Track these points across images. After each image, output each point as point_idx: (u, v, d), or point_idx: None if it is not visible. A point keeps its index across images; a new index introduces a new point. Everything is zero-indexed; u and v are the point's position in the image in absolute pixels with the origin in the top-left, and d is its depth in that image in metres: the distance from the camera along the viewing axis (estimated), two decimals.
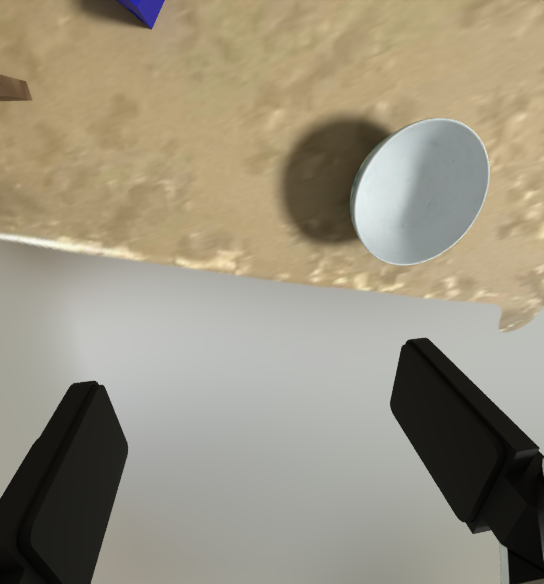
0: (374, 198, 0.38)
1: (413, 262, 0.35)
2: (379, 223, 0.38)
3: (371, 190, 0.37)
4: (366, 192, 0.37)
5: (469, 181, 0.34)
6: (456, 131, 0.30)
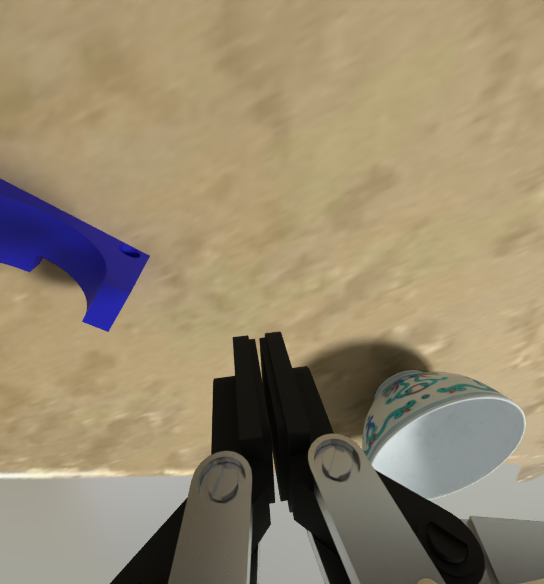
0: None
1: (433, 496, 0.31)
2: None
3: None
4: None
5: (499, 417, 0.30)
6: None
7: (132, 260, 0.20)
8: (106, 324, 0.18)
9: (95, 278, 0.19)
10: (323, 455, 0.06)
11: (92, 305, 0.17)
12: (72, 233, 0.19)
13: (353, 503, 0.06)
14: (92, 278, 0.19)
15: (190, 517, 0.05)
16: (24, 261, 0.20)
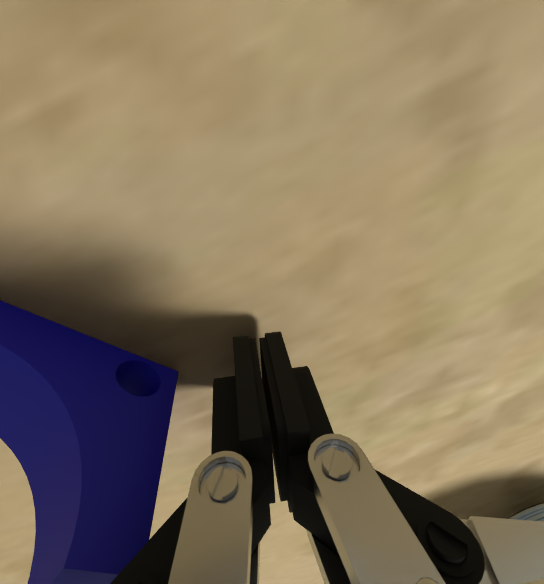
0: None
1: None
2: None
3: None
4: None
5: None
6: None
7: (145, 407, 0.09)
8: None
9: (56, 477, 0.08)
10: (323, 455, 0.06)
11: None
12: (6, 361, 0.08)
13: (353, 503, 0.06)
14: (51, 473, 0.08)
15: (190, 517, 0.05)
16: None
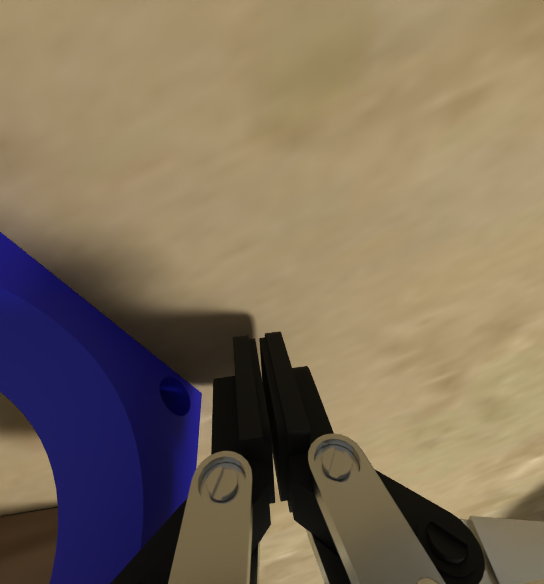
0: None
1: None
2: None
3: None
4: None
5: None
6: None
7: (181, 427, 0.10)
8: None
9: (99, 482, 0.08)
10: (323, 455, 0.06)
11: None
12: (78, 358, 0.08)
13: (353, 503, 0.06)
14: (91, 475, 0.08)
15: (190, 517, 0.05)
16: None
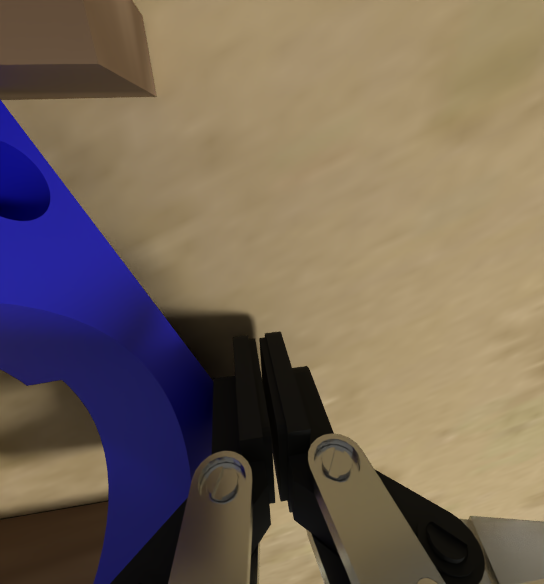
0: None
1: None
2: None
3: None
4: None
5: None
6: None
7: None
8: None
9: (149, 527, 0.08)
10: (323, 455, 0.06)
11: None
12: (160, 406, 0.08)
13: (353, 503, 0.06)
14: (143, 515, 0.08)
15: (190, 517, 0.05)
16: (28, 373, 0.09)
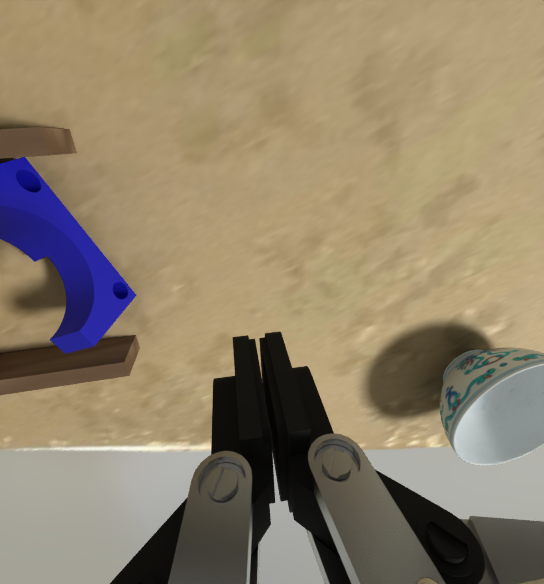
0: None
1: (503, 460, 0.35)
2: None
3: None
4: None
5: None
6: None
7: (117, 302, 0.24)
8: (66, 349, 0.22)
9: (79, 307, 0.22)
10: (323, 455, 0.06)
11: (63, 336, 0.21)
12: (82, 262, 0.22)
13: (353, 503, 0.06)
14: (78, 304, 0.23)
15: (190, 517, 0.05)
16: (35, 254, 0.23)
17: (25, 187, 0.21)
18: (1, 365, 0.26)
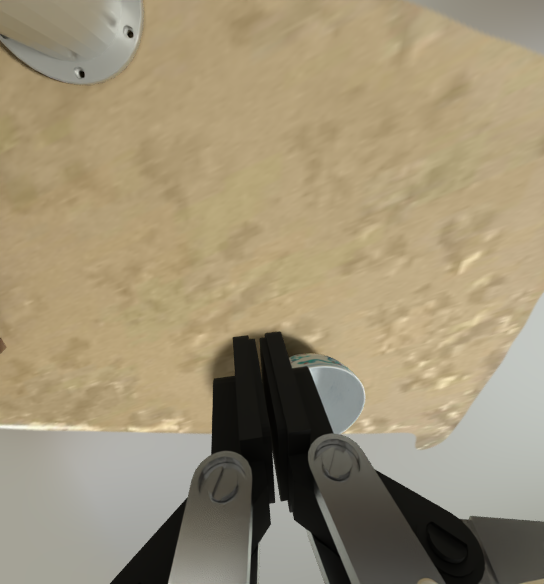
0: None
1: None
2: None
3: None
4: None
5: (354, 385, 0.43)
6: None
7: None
8: None
9: None
10: (323, 455, 0.06)
11: None
12: None
13: (353, 503, 0.06)
14: None
15: (190, 517, 0.05)
16: None
17: None
18: None
